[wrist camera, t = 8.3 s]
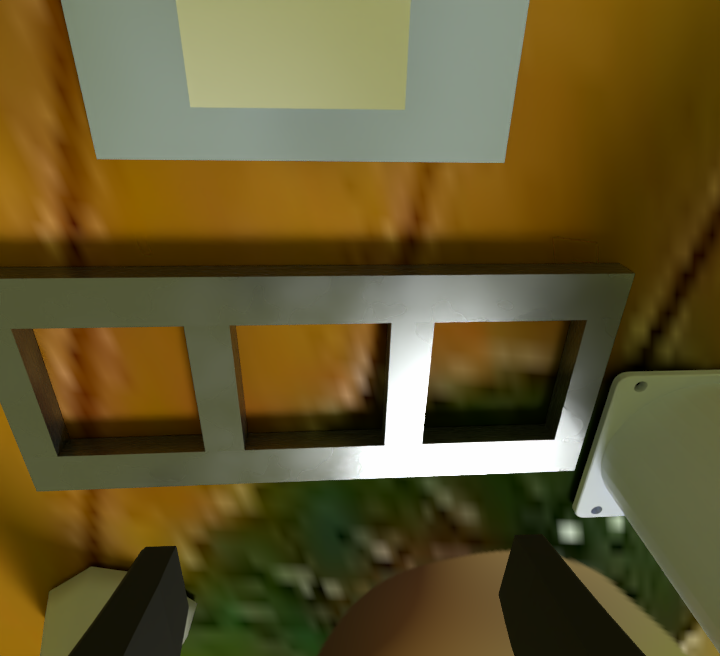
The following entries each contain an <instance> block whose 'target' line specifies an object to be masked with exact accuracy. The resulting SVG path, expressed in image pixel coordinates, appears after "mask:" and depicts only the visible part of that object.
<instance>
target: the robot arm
mask: <svg viewBox="0 0 720 656" xmlns="http://www.w3.org/2000/svg"><path fill="white" fill-rule="evenodd" d="M639 382H640V384H639V385H637V386H635V385H636V384H637V383H639ZM573 510H574V511H575V513H576V515H577V516H579V517H606V516H626V518H627V519H628V521H629V522H630V524H631V525H632V527H633V528H634V529H635V531H636V532H637V534H638V535H639V537H640V538H641V540H642V541H643V543H644V544H645V545H646V547H647V548H648V550H649V551H650V553H651V554H652V556H653V557H654V559H655V560H656V561H657V563H658V564H659V566H660V567H661V569H662V570H663V572H664V573H665V575H666V576H667V577H668V579H669V580H670V582H671V583H672V585H673V586H674V588H675V589H676V591H677V592H678V593H679V595H680V596H681V598H682V599H683V601H684V602H685V604H686V605H687V607H688V608H689V609H690V611H691V612H692V614H693V615H694V617H695V618H696V620H697V621H698V623H699V624H700V625H701V627H702V628H703V630H704V631H705V633H706V634H707V636H708V637H709V639H710V640H711V641H712V643H713V644H714V646H715V647H716V649H717V650H718V652H719V653H720V370H681V371H639V372H624V373H621V374H619V375H618V376H616V377H615V378H614V380H613V382H612V385H611V388H610V391H609V394H608V397H607V400H606V403H605V406H604V410H603V413H602V416H601V419H600V422H599V425H598V428H597V431H596V434H595V437H594V441H593V444H592V447H591V450H590V453H589V456H588V459H587V462H586V465H585V469H584V472H583V475H582V478H581V481H580V484H579V487H578V490H577V493H576V497H575V500H574V503H573ZM499 598H500V602H501V606H502V611H503V615H504V619H505V624H506V627H507V631H508V635H509V639H510V643H511V647H512V650H513V652H514V655H515V656H646V655H645V654H644V653H643V652H642V651H641V650H640V649H639V648H638V647H637V645H636V644H635V643H633V641H632V640H631V639H630V638H629V636H628V635H627V634H626V633H625V632H624V631H623V630H622V629H621V627H620V626H619V625H618V624H617V623H616V622H615V621H614V619H613V618H612V617H611V616H610V615H609V614H608V613H607V612H606V610H605V609H604V608H603V607H602V606H601V604H600V603H599V602H598V601H597V600H596V599H595V597H594V596H593V595H592V594H591V593H590V591H589V590H588V589H587V588H586V587H585V585H584V584H583V583H582V582H581V581H580V580H579V578H578V577H577V576H576V575H575V573H574V572H573V571H572V570H571V568H570V567H569V566H568V565H567V564H566V562H565V561H564V560H563V559H562V557H561V556H560V555H559V554H558V553H557V551H556V550H555V549H554V548H553V546H552V545H551V544H550V543H549V542H548V540H547V539H546V538H545V537H544V536H543V535H542V534H538V535H515V537H514V540H513V544H512V548H511V551H510V555H509V559H508V562H507V566H506V570H505V573H504V577H503V580H502V584H501V587H500V591H499ZM188 610H189V605H188V600H187V595H186V590H185V586H184V581H183V576H182V571H181V567H180V562H179V557H178V552H177V547H176V546H160V547H145V548H144V549H143V550H142V551H141V552H140V554H139V555H138V557H137V558H136V560H135V561H134V563H133V564H132V566H131V567H130V569H129V570H128V572H127V573H126V575H125V576H124V578H123V579H122V581H121V582H120V584H119V585H118V587H117V588H116V590H115V591H114V593H113V594H112V595H111V597H110V598H109V600H108V601H107V603H106V604H105V605H104V607H103V608H102V610H101V611H100V613H99V614H98V615H97V617H96V618H95V620H94V621H93V622H92V624H91V625H90V626H89V628H88V629H87V631H86V632H85V633H84V635H83V636H82V637H81V639H80V640H79V641H78V643H77V644H76V645H75V647H74V648H73V649H72V651H71V652H70V654H69V655H68V656H180V653H181V648H182V643H183V638H184V632H185V626H186V621H187V615H188Z"/></svg>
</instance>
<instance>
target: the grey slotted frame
mask: <svg viewBox="0 0 720 656" xmlns="http://www.w3.org/2000/svg"><path fill="white" fill-rule="evenodd" d="M634 276H635V273H633V272H632V271H630V270H629V269H627V268H625V267H624V266H622V265H621V264H619V263H596V264H441V265H286V266H131V267H0V403H1V405H2V408H3V410H4V413H5V415H6V418H7V420H8V422H9V425H10V427H11V430H12V432H13V435H14V437H15V439H16V442H17V444H18V447H19V449H20V452H21V454H22V456H23V459H24V461H25V464H26V466H27V469H28V471H29V474H30V476H31V478H32V481H33V483H34V486H35V488H36V491H59V490H85V489H111V488H136V487H162V486H188V485H214V484H239V483H265V482H291V481H317V480H342V479H368V478H394V477H420V476H445V475H471V474H497V473H523V472H548V471H574V470H575V466H576V463H577V460H578V457H579V454H580V450H581V447H582V444H583V441H584V437H585V434H586V431H587V428H588V424H589V421H590V418H591V415H592V411H593V408H594V405H595V402H596V399H597V395H598V392H599V389H600V386H601V382H602V379H603V376H604V373H605V369H606V366H607V363H608V360H609V356H610V353H611V350H612V347H613V344H614V340H615V337H616V334H617V331H618V327H619V324H620V321H621V318H622V314H623V311H624V308H625V305H626V301H627V298H628V295H629V292H630V288H631V285H632V282H633V279H634ZM557 320H571V322H570V326H569V330H568V334H567V338H566V342H565V346H564V350H563V353H562V357H561V361H560V365H559V369H558V373H557V377H556V381H555V385H554V389H553V393H552V397H551V401H550V405H549V409H548V412H547V416H546V420H545V424H530V425H499V426H467V427H435V428H424V419H425V409H426V400H427V390H428V380H429V371H430V361H431V352H432V342H433V333H434V323H435V322H492V321H557ZM361 323H387V341H386V360H385V379H384V398H383V417H382V429H371V430H339V431H308V432H276V433H248V428H247V420H246V411H245V402H244V394H243V385H242V376H241V368H240V359H239V350H238V341H237V333H236V325H296V324H361ZM165 326H184V331H185V337H186V342H187V348H188V354H189V360H190V365H191V371H192V377H193V383H194V389H195V394H196V400H197V406H198V412H199V418H200V423H201V429H202V435H180V436H148V437H117V438H85V439H70V438H69V435H68V432H67V429H66V426H65V423H64V421H63V418H62V415H61V412H60V409H59V406H58V403H57V400H56V397H55V394H54V391H53V388H52V385H51V383H50V380H49V377H48V374H47V371H46V368H45V365H44V362H43V359H42V356H41V353H40V350H39V347H38V344H37V342H36V339H35V336H34V333H33V330H32V329H35V328H100V327H165Z"/></svg>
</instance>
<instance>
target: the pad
mask: <svg viewBox="0 0 720 656" xmlns="http://www.w3.org/2000/svg"><path fill="white" fill-rule="evenodd" d="M61 3H62V7H63V12H64V16H65V21H66V25H67V29H68V34H69V38H70V43H71V47H72V51H73V56H74V60H75V65H76V69H77V73H78V78H79V82H80V87H81V91H82V95H83V100H84V104H85V109H86V113H87V117H88V122H89V126H90V131H91V135H92V139H93V144H94V148H95V153H96V157H97V159H152V160H260V161H368V162H476V163H504V161H505V155H506V148H507V142H508V135H509V129H510V122H511V116H512V109H513V103H514V96H515V90H516V83H517V77H518V70H519V64H520V57H521V51H522V44H523V38H524V32H525V25H526V19H527V12H528V6H529V0H411V6H410V24H409V43H408V62H407V80H406V99H405V110H377V109H290V108H203V107H190V101H189V94H188V87H187V79H186V72H185V65H184V58H183V50H182V43H181V36H180V29H179V21H178V14H177V7H176V0H61Z"/></svg>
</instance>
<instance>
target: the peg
mask: <svg viewBox="0 0 720 656" xmlns="http://www.w3.org/2000/svg"><path fill="white" fill-rule="evenodd" d="M410 6H411V0H176V7H177V14H178V21H179V29H180V36H181V43H182V50H183V58H184V65H185V72H186V79H187V87H188V94H189V101H190V107H203V108H290V109H377V110H405V99H406V80H407V62H408V43H409V24H410Z"/></svg>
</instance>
